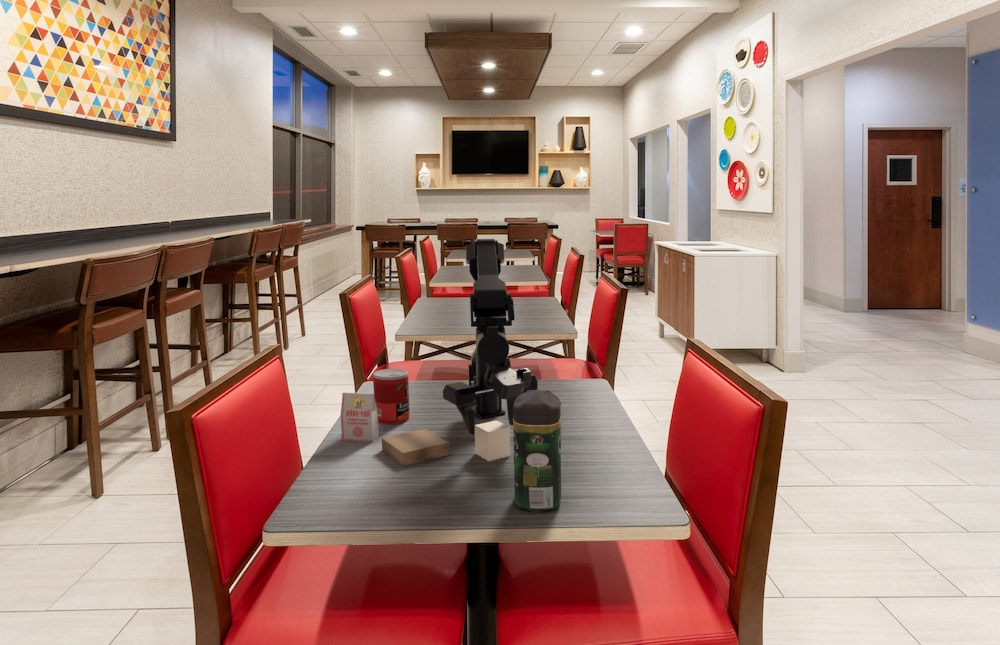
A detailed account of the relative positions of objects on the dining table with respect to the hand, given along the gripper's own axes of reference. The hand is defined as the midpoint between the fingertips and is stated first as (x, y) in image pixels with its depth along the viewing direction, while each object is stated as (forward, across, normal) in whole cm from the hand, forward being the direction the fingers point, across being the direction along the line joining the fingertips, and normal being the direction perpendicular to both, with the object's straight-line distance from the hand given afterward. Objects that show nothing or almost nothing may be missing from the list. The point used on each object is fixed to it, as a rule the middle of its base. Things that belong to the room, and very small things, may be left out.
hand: (492, 429), depth 138 cm
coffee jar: (+5, -5, -22) cm, 23 cm away
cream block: (+5, 0, 0) cm, 5 cm away
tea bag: (+6, -18, +24) cm, 30 cm away
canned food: (+5, -7, +32) cm, 33 cm away
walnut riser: (+6, -12, +10) cm, 17 cm away
